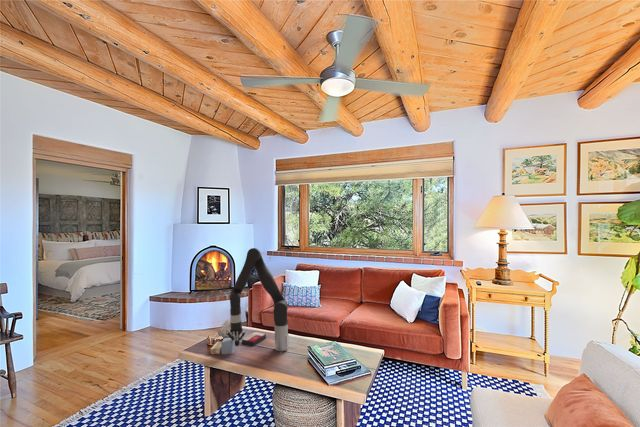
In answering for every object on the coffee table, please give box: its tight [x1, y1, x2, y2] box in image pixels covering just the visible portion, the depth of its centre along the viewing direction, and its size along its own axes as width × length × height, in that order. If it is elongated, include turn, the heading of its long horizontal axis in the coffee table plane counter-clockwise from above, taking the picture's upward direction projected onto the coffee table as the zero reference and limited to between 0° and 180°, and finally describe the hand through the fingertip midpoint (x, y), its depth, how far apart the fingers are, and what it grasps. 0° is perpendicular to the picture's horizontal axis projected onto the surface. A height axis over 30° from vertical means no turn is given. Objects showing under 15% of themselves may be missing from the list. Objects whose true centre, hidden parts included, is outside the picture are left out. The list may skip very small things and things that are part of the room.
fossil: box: [217, 319, 233, 339], centre depth 230 cm, size 16×9×15 cm, turn 156°
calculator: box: [241, 331, 267, 347], centre depth 224 cm, size 11×4×15 cm
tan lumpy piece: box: [210, 341, 222, 355], centre depth 209 cm, size 6×12×4 cm, turn 177°
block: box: [220, 338, 236, 355], centre depth 207 cm, size 7×7×8 cm
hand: (237, 345), depth 206 cm, fingers closed
